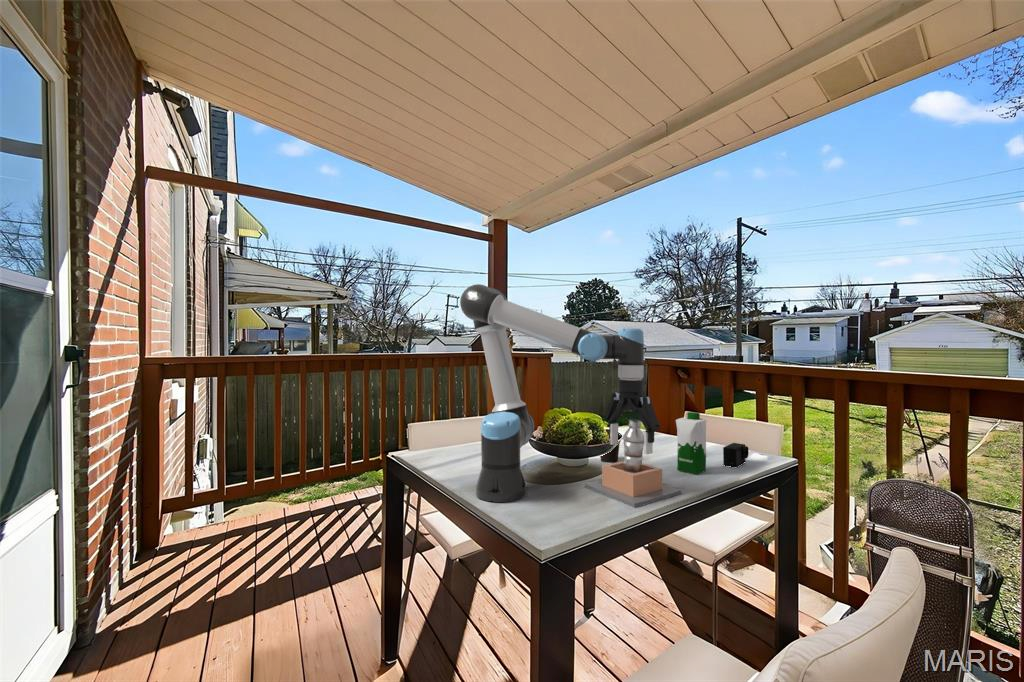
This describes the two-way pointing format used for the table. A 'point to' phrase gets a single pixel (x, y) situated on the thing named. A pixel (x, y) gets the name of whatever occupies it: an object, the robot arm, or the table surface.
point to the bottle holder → (632, 485)
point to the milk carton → (691, 443)
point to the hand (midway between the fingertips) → (630, 448)
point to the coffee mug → (611, 455)
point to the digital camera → (735, 454)
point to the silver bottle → (633, 447)
